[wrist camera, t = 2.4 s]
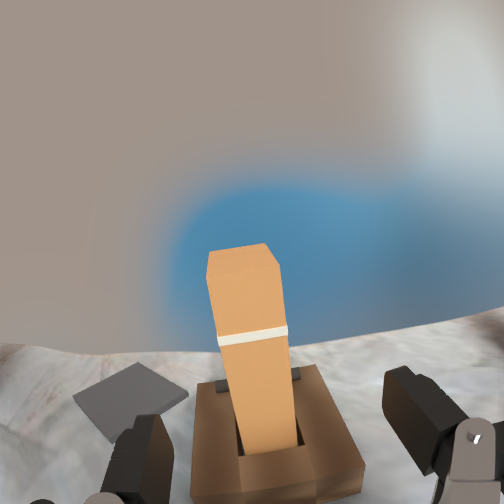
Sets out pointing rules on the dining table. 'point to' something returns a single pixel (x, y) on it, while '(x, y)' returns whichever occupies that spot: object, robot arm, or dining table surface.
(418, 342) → the dining table surface
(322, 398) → the brown socket base
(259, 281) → the striped orange pillar
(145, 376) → the pad
